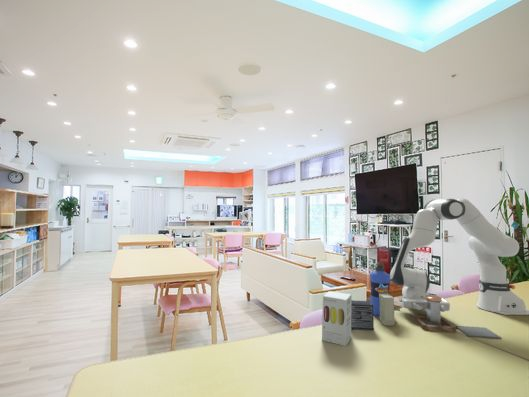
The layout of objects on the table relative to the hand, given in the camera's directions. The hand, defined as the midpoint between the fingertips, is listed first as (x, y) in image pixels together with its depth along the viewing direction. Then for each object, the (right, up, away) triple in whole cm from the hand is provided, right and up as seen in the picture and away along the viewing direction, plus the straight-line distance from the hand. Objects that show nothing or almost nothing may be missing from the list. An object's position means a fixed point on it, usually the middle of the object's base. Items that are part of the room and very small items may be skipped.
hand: (431, 309), depth 131 cm
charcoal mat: (+14, -6, -9) cm, 18 cm away
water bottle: (-19, -7, +12) cm, 23 cm away
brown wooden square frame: (0, -6, -2) cm, 7 cm away
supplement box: (-47, -5, -18) cm, 50 cm away
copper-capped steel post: (0, -6, -2) cm, 7 cm away
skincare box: (-20, -6, 0) cm, 21 cm away
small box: (-34, -6, -5) cm, 35 cm away
